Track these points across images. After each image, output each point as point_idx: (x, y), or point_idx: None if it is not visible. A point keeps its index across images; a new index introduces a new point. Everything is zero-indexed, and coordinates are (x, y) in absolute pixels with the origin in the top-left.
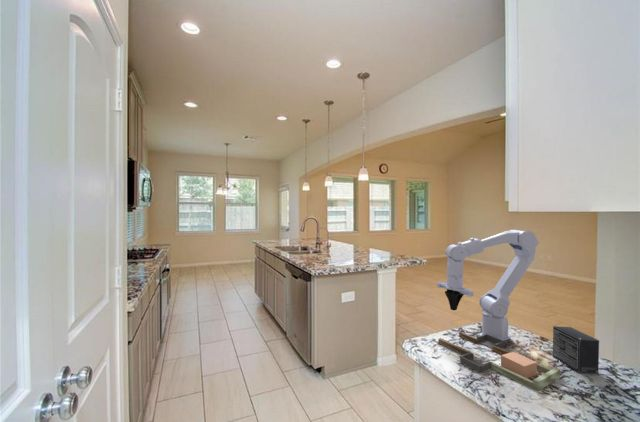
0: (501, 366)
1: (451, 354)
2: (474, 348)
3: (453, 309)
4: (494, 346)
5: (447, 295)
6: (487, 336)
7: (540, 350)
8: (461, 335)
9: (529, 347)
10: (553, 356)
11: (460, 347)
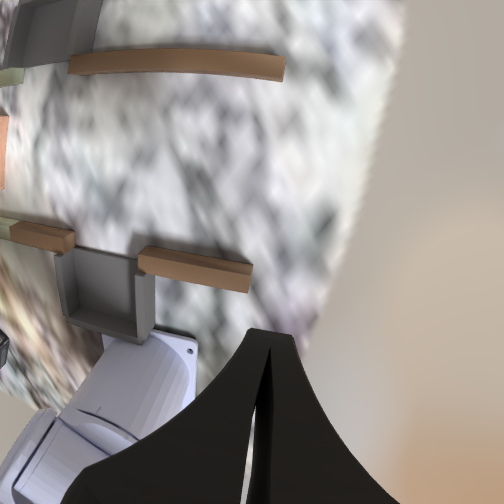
0: (5, 116)
1: (161, 6)
2: (122, 178)
3: (248, 334)
4: (58, 243)
5: (343, 488)
6: (132, 332)
7: (36, 358)
8: (235, 265)
9: (55, 360)
10: (6, 337)
11: (133, 68)
